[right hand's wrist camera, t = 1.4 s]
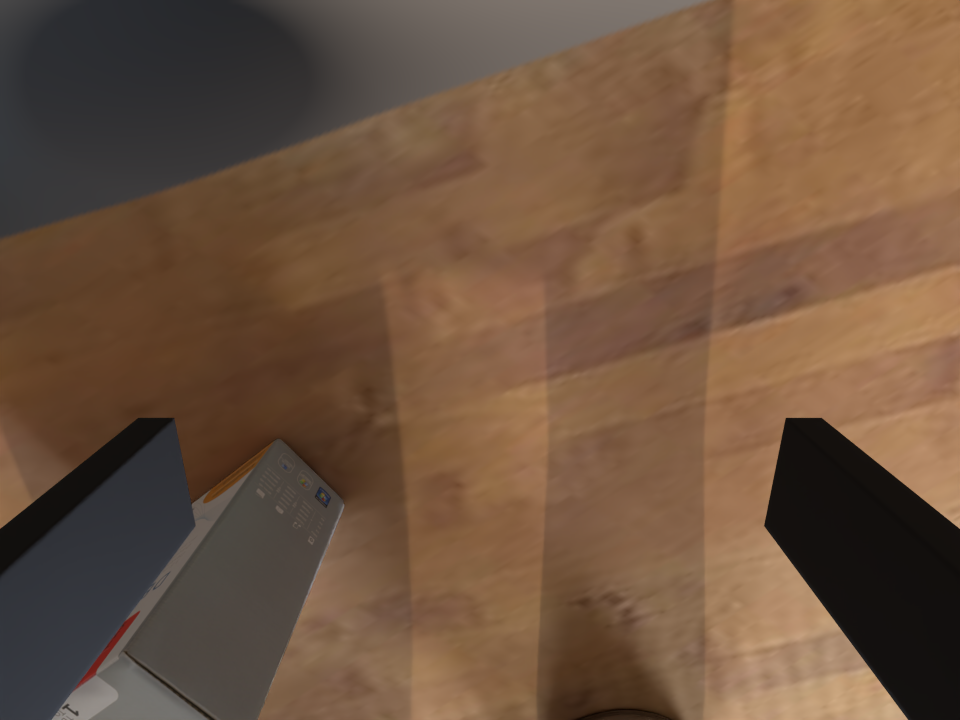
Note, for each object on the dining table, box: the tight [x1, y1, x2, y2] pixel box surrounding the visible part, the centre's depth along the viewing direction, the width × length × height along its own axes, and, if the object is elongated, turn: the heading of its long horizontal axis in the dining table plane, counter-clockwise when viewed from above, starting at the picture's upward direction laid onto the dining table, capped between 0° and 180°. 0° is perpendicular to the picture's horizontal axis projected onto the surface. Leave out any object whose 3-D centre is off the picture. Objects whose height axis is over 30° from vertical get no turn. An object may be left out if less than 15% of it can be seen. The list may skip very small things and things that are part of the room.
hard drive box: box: [52, 439, 345, 720], centre depth 37 cm, size 16×8×20 cm, turn 128°
